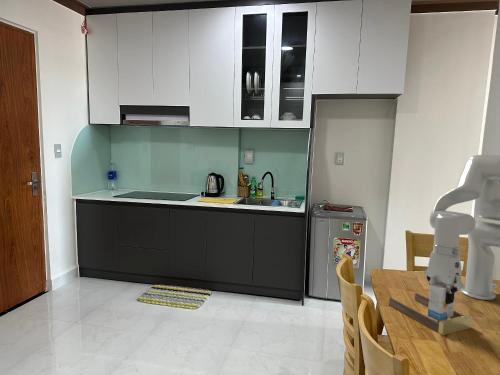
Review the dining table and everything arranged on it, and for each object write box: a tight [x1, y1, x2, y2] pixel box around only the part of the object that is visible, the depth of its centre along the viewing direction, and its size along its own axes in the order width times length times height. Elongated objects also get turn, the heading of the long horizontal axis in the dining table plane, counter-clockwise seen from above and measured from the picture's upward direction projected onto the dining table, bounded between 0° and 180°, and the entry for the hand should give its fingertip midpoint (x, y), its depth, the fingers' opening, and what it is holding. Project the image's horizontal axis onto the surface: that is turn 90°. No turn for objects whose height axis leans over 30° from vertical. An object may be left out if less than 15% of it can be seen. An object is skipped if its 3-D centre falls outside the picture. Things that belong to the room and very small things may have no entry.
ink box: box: [427, 276, 457, 322], centre depth 122 cm, size 8×5×15 cm, turn 123°
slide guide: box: [388, 292, 474, 336], centre depth 127 cm, size 14×24×4 cm, turn 22°
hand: (441, 299), depth 122 cm, fingers closed on ink box, 5 cm apart
